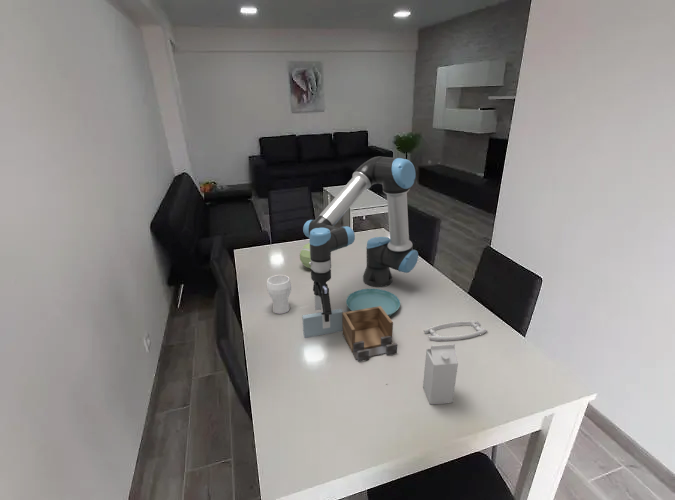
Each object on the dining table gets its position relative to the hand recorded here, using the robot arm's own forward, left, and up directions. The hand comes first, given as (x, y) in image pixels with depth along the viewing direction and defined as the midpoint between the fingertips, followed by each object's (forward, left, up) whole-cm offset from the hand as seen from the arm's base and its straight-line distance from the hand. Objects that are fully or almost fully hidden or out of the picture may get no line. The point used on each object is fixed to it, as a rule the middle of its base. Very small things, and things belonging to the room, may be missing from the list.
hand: (322, 318), depth 139 cm
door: (0, 0, -7) cm, 7 cm away
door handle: (-50, +16, -8) cm, 53 cm away
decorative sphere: (-10, -62, -7) cm, 63 cm away
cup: (+14, -23, -7) cm, 28 cm away
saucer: (-26, -12, -7) cm, 30 cm away
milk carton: (-26, +43, -7) cm, 51 cm away
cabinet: (-15, +12, -7) cm, 21 cm away
